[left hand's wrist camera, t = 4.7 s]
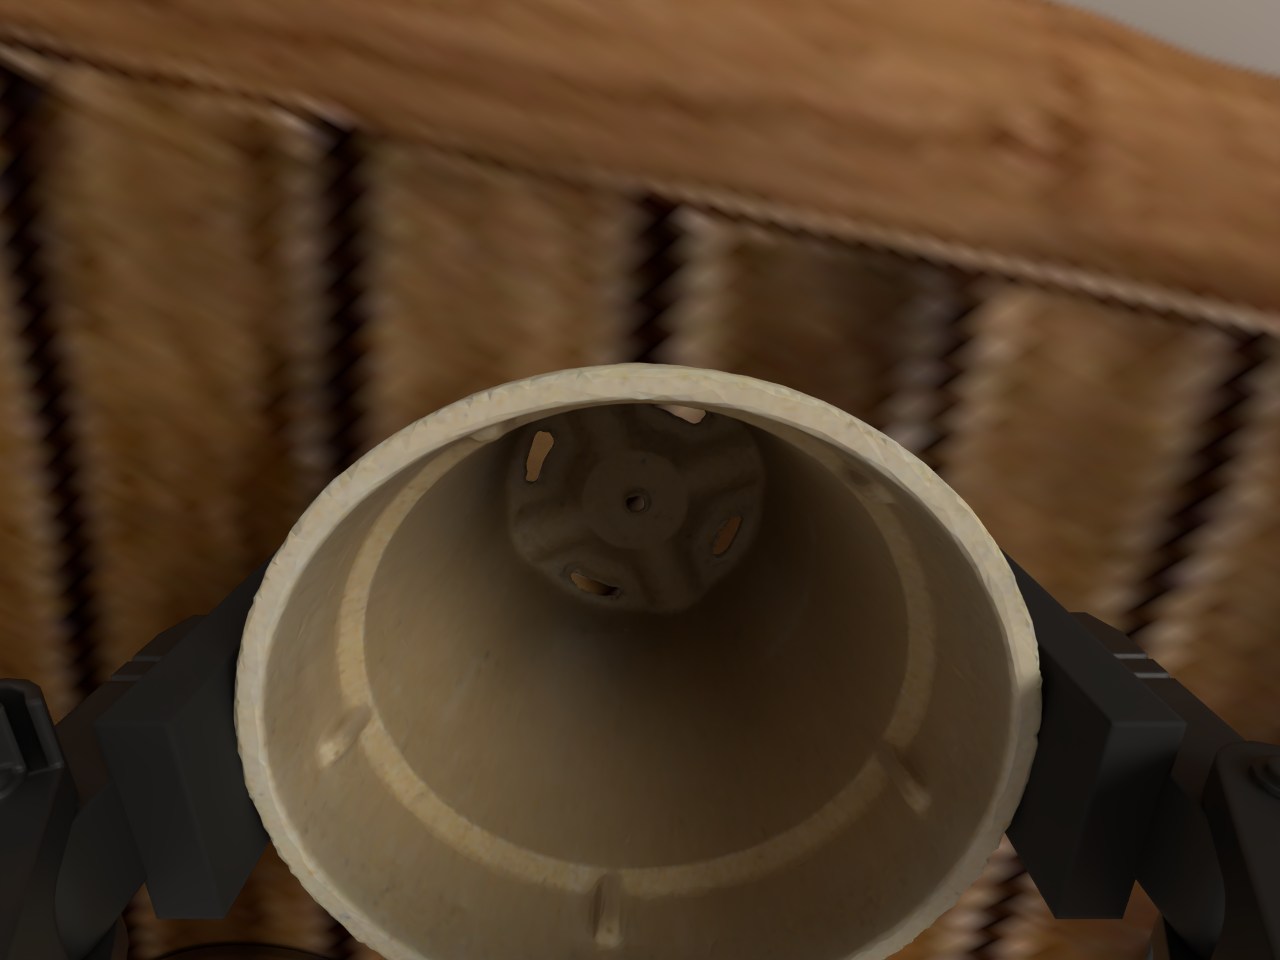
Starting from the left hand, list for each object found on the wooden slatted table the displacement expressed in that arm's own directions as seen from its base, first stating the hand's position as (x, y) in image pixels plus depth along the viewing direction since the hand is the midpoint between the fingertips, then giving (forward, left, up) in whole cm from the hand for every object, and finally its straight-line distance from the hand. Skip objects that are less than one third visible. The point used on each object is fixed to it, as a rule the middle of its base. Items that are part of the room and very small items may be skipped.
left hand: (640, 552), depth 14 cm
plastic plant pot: (0, 0, -3) cm, 3 cm away
